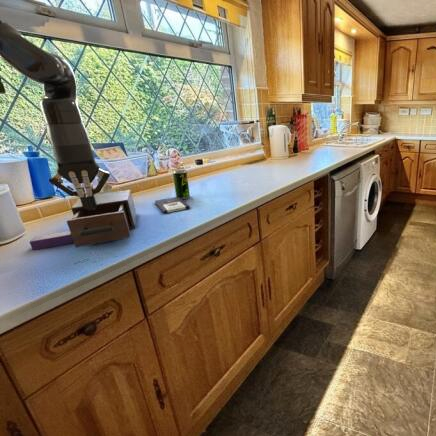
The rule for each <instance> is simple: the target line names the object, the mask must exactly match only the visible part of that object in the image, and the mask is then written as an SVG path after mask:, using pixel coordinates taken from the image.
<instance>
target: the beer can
mask: <svg viewBox="0 0 436 436" xmlns="http://www.w3.org/2000/svg"><path fill="white" fill-rule="evenodd" d="M172 177H173V183H174V184H173V185H174V191H175V197H180V198H181V199H182V200H186V199H189V198H190V196H191V194H190V186H189V185H190V184H189V179H188V171H187V169H186V168H177V169H173V170H172Z"/></svg>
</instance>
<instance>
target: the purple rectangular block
mask: <svg viewBox="0 0 436 436" xmlns="http://www.w3.org/2000/svg"><path fill="white" fill-rule="evenodd" d="M73 243H74V241H73V238H72V235H71V232H70V230H67V231H60V232H55V233H50V234H49V233H48V234H44V235H43V234H42V235H38V236H37V235H36V236H33V237H32V238H31V240H30V241H29V244H30V247H31V249H32V251H35V250H41V249H47V248H52V247H58V246H63V245H69V244H73Z"/></svg>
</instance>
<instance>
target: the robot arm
mask: <svg viewBox="0 0 436 436" xmlns="http://www.w3.org/2000/svg"><path fill="white" fill-rule="evenodd" d="M0 59H1V60H3V61H4V62H5V63H7V64H8V65H9V66H11V68H13V69H14V70H15V71H17V72H18V73H20V74H21V75H23V77H26V78H28V79H29V80H31V81H33V82H35V83H37V84H41V86H42V91H43V97H42V98H40V99H39V108H40V111H41V115H42V119H43V121H44V124H45V128H46V134H47V137H48V142H49V144H50V146H51V150H52V152H53V156H54V158H55V162H56V166H57V168H56V174H55V175H54V176H51V177H50V178H49V179H48V182H49V183H50V184H52V185H54V186H55V187H56V188H57V189H59V190H60V191H62V192H63V193H65V194H67V195H68V196H70V197H78V199H79V198H80V199H81V202H82V206H83V208H84V209H87V211H90V210H95V208H96V207H97V202H96V199H95V194H100V192H101V191H102V189H103V187H104V185H105V184H106V183H107V181H108V180H109V178H110V177H111V172H110V171H107V170H106V171H105V170H104V169H101V168H100V165H99V164H98V163H97V162H96V159H95V156H94V153H93V149H92V145H91V142H90V138H89V135H88V132H87V131H88V130H87V129H86V127H85V124H84V122H83V118H82V115H81V112H80V109H79V106H78V92H77V91H78V89H77V81H76V75H75V74H74V71H73V68H72V66H71V65H70V64H69V63H68V62H67V60H66V59H64V58H63V57H61V56H60V55H58V54H55V53H51V52H49V51H46V50H44V49H42V48H41V47H39V46H37V45H36V44H34V43H33V42H31V41H30V40H28V38H25V37H24V35H23V34H22V33H21V32H20V31H19V30H18V29H17V28H15V27H14V26H12V25H11V24H9V23H8V22H6V21H5V20H3V19H2V18H0ZM97 175H98V178H99V179H100V180H99V182H98V183H97V185H96V187H95V188H94V185H93V181H94V180H95V178H96V177H97ZM64 179H65V180H66V181H67V182H69V183H70V184H72V185H73V187H72V186H70V185H69V184H67V183H66V182H65V180H64Z"/></svg>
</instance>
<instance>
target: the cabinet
mask: <svg viewBox="0 0 436 436" xmlns="http://www.w3.org/2000/svg"><path fill="white" fill-rule="evenodd" d="M95 199H96V202H97V207H99V206H106V205H113V204H120V203H125V205H126V209H127V212H128V216H129V219H130V226H129V230H133V229H136V227H137V218H138V214H137V210H136V206H135V203H134V198H133V195H132V192H131V189H126V190H117V191H111V192H109V193H101V194H100V193H97V194H95ZM70 209H71V212H72V214H73V216H74V215H75V214H76V213H77V211H78V210H79V209H84V208H83V206H82V202H81V199H80V198H79V197H78V199H77V200H76V202H75V203H74V204H73V205H72V207H71V208H70Z"/></svg>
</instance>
